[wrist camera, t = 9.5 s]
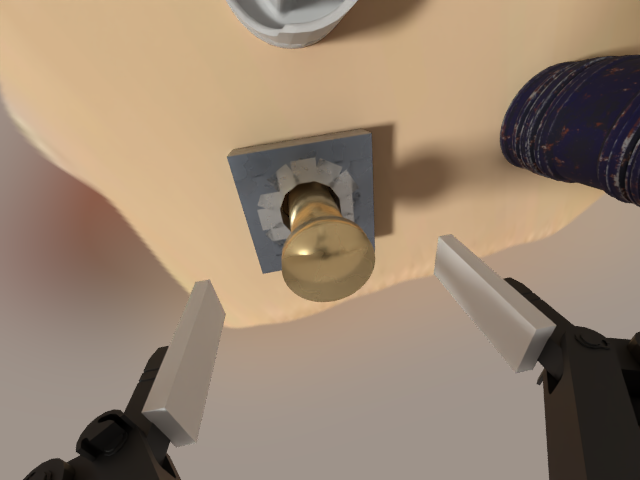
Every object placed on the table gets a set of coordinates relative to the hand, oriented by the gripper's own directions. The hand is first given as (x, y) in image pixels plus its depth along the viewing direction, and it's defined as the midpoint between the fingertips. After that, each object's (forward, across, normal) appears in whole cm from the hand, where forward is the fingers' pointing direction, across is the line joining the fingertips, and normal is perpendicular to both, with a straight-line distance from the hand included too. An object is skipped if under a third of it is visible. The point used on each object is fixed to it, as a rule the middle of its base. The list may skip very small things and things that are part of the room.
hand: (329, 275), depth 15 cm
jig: (+13, 0, -1) cm, 13 cm away
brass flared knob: (+13, 0, -1) cm, 13 cm away
